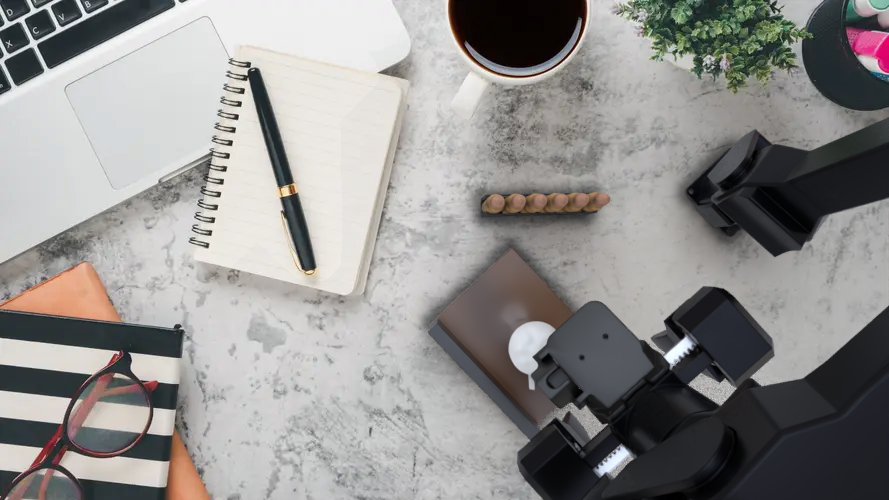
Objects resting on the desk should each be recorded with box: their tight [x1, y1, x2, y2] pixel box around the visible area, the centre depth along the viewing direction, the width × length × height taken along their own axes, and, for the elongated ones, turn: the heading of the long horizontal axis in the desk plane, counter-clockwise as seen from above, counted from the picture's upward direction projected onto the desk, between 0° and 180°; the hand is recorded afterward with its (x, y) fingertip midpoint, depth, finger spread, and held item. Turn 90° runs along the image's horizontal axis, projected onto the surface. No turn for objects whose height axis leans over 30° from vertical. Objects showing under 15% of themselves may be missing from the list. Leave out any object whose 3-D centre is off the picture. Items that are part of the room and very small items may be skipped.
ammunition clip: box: [480, 191, 611, 218], centre depth 59 cm, size 11×2×12 cm, turn 91°
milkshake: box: [508, 318, 557, 390], centre depth 58 cm, size 4×5×10 cm
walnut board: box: [427, 247, 575, 441], centre depth 62 cm, size 11×14×6 cm
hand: (613, 379), depth 54 cm, fingers open, 9 cm apart
